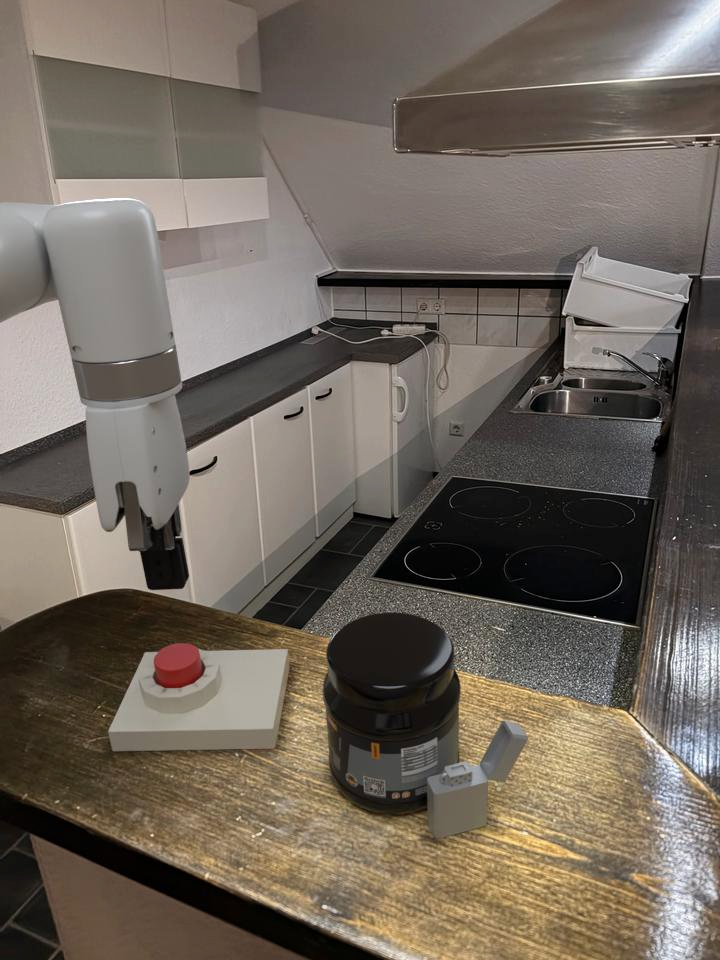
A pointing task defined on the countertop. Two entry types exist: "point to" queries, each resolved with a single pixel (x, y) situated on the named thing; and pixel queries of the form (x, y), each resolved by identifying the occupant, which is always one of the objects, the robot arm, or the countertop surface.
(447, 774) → the lighter
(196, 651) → the power button
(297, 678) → the countertop surface
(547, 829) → the countertop surface
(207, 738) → the grey button base
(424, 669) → the supplement container
